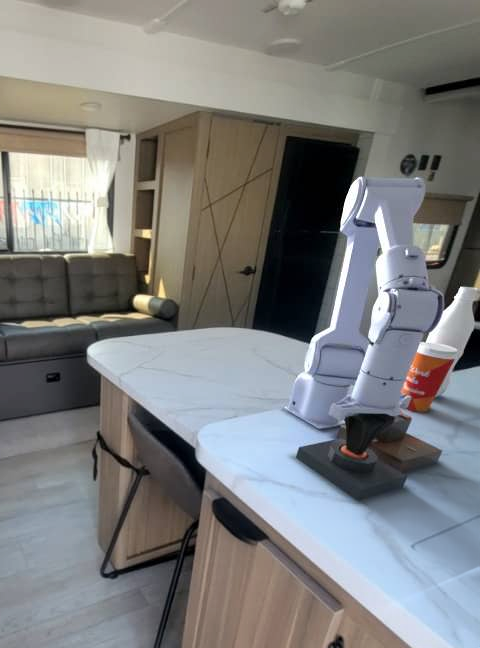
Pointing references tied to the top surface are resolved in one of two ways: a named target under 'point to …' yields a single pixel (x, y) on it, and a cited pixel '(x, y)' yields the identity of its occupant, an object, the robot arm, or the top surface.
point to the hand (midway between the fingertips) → (354, 451)
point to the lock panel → (402, 451)
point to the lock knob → (395, 429)
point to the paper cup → (428, 374)
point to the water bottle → (455, 327)
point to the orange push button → (348, 453)
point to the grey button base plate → (351, 469)
